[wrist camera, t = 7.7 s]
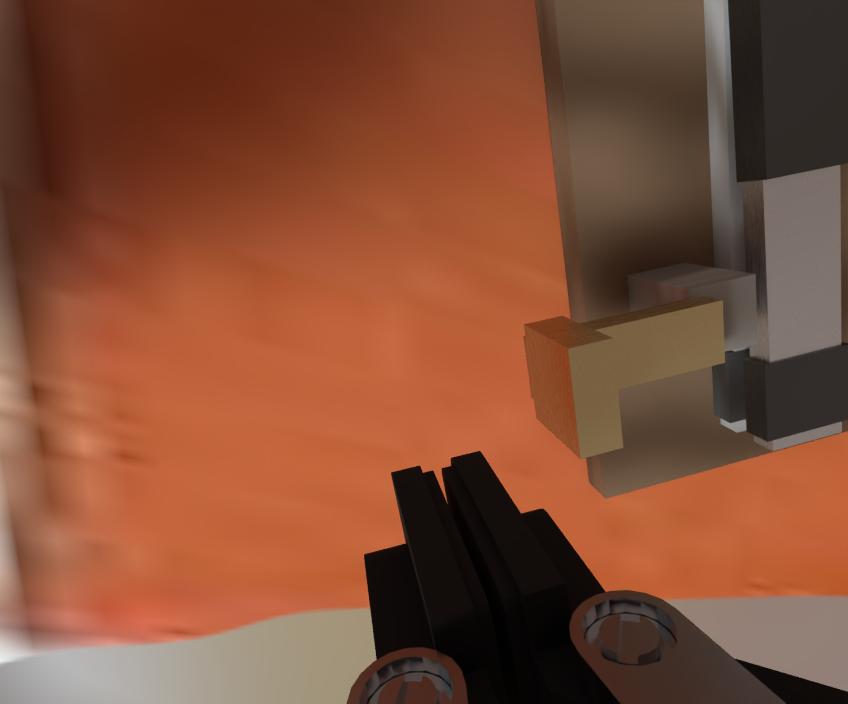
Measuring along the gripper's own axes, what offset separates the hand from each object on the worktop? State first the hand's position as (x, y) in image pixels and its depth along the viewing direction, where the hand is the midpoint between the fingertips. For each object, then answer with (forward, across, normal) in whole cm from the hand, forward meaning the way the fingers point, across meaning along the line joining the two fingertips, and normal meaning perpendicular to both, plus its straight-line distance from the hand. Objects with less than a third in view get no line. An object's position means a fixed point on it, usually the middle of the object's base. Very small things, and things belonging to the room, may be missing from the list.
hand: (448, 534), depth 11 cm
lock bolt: (+7, -7, 0) cm, 10 cm away
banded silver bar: (+10, -15, -7) cm, 19 cm away
